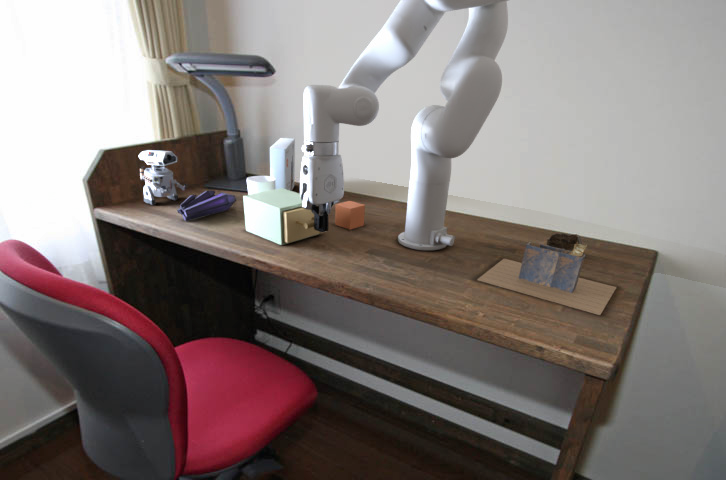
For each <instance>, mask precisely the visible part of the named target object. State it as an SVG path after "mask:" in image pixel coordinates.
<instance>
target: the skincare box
mask: <svg viewBox="0 0 726 480" xmlns="http://www.w3.org/2000/svg"><path fill="white" fill-rule="evenodd" d="M295 144H296V138H290V137H289V138H288V137H280V138H279V139H278V140H276V141H275V143H273V144H271V146H270V147H269V176H270V177H274V178H275V186H276V189H281V188H283V189H286V190H290V191H293V189H294V188H295V167H296V166H295V163H296V162H295V159H296V156H295V155H296V152H295V150H296V148H295V147H296V145H295Z"/></svg>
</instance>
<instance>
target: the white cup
mask: <svg viewBox="0 0 726 480" xmlns="http://www.w3.org/2000/svg"><path fill="white" fill-rule="evenodd" d="M246 185H247V195H250V194H255V193H260V192H265V191H270V190H275V189H276V186H275V178H274V177H270V175H253V176H248V177H246Z"/></svg>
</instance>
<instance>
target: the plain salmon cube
mask: <svg viewBox="0 0 726 480" xmlns="http://www.w3.org/2000/svg"><path fill="white" fill-rule="evenodd" d="M334 205H335V206H334V208H335V209H334V213H335V214H334V225H335V226H338V227H341V228H343V229H347V230H349V231H350V230H355V229H357V228H360V227H364V226H365V215H366V214H365V213H366V205H365V204H362V203H360V202H356V201H352V200H347V201H343V202H337V203H336V204H334Z"/></svg>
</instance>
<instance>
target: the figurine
mask: <svg viewBox="0 0 726 480" xmlns="http://www.w3.org/2000/svg"><path fill="white" fill-rule="evenodd" d="M138 158H139V161H144V162H145V163H146V165H147V166H149V165H150V166H151V167H147V166H141V168H139V176H140V177H139V178H140V181H144V182H145V185H144V186H143V191H142V192H143V202H145V203H146V204H149V205H151V206H154V205H156V204H157V202H156V199H155V197H157V198H164V197H167V199H169V200H173V201H178V200H179V195H178V193H177V189H176V188H179V189H180V190H181V191H185V190H186V188H188V187H189V184H188V182H186V181H185V184H184V185H182V184H180V182H178V181H177V179H174V171H172V170H170V169H169V168H167V167H166V166H169V165H172V164H173V165H174V164H175V163H178V156H177V155H175V153H174V152H173V151H171V150H155V149H153V150H152V149H146V150H143V151H141V152H140V153H139V154H138ZM144 168H145V169H144Z"/></svg>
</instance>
